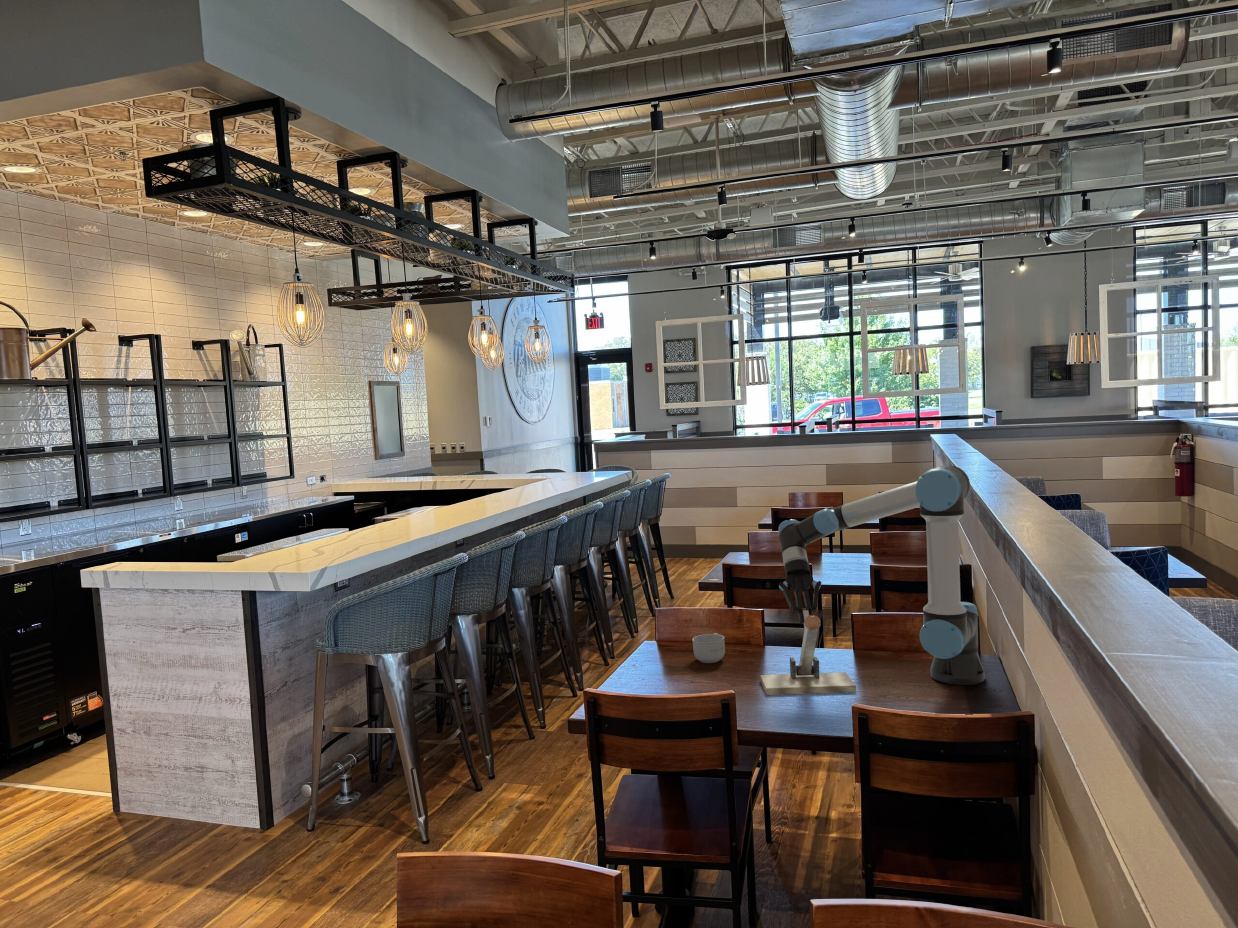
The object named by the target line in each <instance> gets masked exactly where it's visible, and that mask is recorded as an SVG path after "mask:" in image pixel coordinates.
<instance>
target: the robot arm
mask: <svg viewBox="0 0 1238 928" xmlns="http://www.w3.org/2000/svg"><path fill="white" fill-rule="evenodd" d="M970 488H971V482H970V478H969V476H968V474H967V473H966V472H965V471H964V470H963V469H962V468H961V467H958V466H956V465H951V464H950V465H949V464H946V465H942V466H938V467H932V468H930V469H928V470H926V471H925V472H924V473H922V474H921V476H919V477H918V480H916V481H913V482H910V483H906V484H905V485H901V486H898V487H895V488H892V489H891V488H890V489H889V490H885V491H883V492H882V491H881V492H879V493H876V494H873V495H869V496H867V497H864V498H860V499H858V500H853V501H851V502H848V503H846V504H845V503H844V504H842V505H839V506H838V505H837V506H836V507H831V508H824V509H821V510H819V511H816V512H815V513H813V514H812V515H810V516H808V517H806V518H804V519H803V520H801V521H798V520H797V519H792V518H791V519H789V520H786V519H785V520H784V521H782V522H781V523H780V524H779V526H778V529H777V531H778V540H779V543H780V548H781V555H782V560H783V566H784V572H785V580H784V581H780V582H779V585H778V589H779V591H781V593H783V596H784V598H785V600H786V602H787V605H788V607H789V609H790V611H791V613H792V614H795V613H796V614H797V616H798V621H799V623H800V624H803V627H804V628H803V629H804V630H805V619H806V617H808V616H809V615H813V613H817V610H818V604H819V591H820V589H821V586H822V581H821V580H818V581H816V580H814V577H813V576H812V574H811V573H812V572H811V568H810V564H809V559H808V553H807V548H806V546H807V545H810V544H811V543H813V542H816V541H818V540H820V539H822V538H824V537H826V536H829V535H831V534H833V533H834V534H835V533H837V532H839V531H843V530H847V529H849V528H852V527H857V526H859V525H862V524H863V525H864V524H866V523H869V522H873V521H876V520H879V519H883V518H885V517H889V516H893V515H896V514H899V513H903V512H905V511H909V510H913V509H916V508H919V511H920V512H919V514H920V516H921V517H922V518H923V519H924V520H925V524H926V525H925V529H926V530H925V531H926V532H925V533H926V560H927V561H926V564H927V599H928V600H927V601H928V602H927V604H925V605H924V606H922V607H923V608H922V616H923V618H922V619H923V621H922V623H923V625H921V628H920V630H919V641H920V644H921V646H922V648H923V649H924V650H925V651H926V652H927V653H928V654H929V655H931V656H933V659H932V662H931V665H930V671H929V672H930V677H931V678H932V679H933V680H934V681H937V682H940V683H944V684H949V685H954V686H955V685H957V686H970V685H971V686H973V685H978V684H981V683H983V682H984V681H985V677H986V675H985V674H986V673H985V669H984V667H983V663H982V662H981V661H982V660H981V659H980V656H979V648H978V647H979V645H978V644H979V640H978V636H979V635H978V616H979V613H978V608H977V606H976V604H974V603H971V602H968V601H961V578H960V576H961V574H960V538H959V537H960V536H959V534H960V533H959V530H960V529H959V520H961V518H963V516H964V515H965V505H964V504H965V503H964V500H965V499H966V497H967V496H968V494H969V492H970ZM811 586H812V588H813V589H814V590H813V597H812V598H813V599H812V603H811V599H810V598H811V597H810V591H809V589H810V588H811ZM788 587H789V588H790V590H792V591H793V595H794V598H795V601H794V598H793V597H792V594H791V592H790V590H789V588H788ZM801 594H802V596H803V601H804V606H805V610H804V608H803V602H802V597H801Z"/></svg>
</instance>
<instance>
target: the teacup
mask: <svg viewBox="0 0 1238 928" xmlns="http://www.w3.org/2000/svg"><path fill="white" fill-rule="evenodd" d="M691 641H692V647H693V654H694V657H695V659H697V660H698V661H700V663H703V664H715V663H718V662H720V661H721V659H722V658H724V656H725V653H726V644H725V636H724V635H722V634H719V633H717V632H714V633H705V634H700V635H696V636H693V638H692V640H691Z"/></svg>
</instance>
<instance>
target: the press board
mask: <svg viewBox="0 0 1238 928" xmlns="http://www.w3.org/2000/svg"><path fill="white" fill-rule="evenodd" d="M796 663H797V662H796V660H795V658H794V657H793V656H792V657H791V656H790V657H789V671H790V672H789V673H783V674H780V673H779V674H760V677H759V678H760V684H761V686H762V688H763V690H764V692H765V694H766V695H765V696H773V695H774V696H775V695H778V696H779V695H782V696H783V695H805V694H807V695H808V694H810V695H812V694H839V693H857V686H856V684H855V682H854V681H853V680H852V678H851V677H850V676H849V675H848V674H847V672H845V671H844V672H842V671H841V672H820V660H819V658H818V657H817V656H814V657H813V663H812V665H813V667H814V675H805V676H796V666H797V665H796Z"/></svg>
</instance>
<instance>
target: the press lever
mask: <svg viewBox="0 0 1238 928" xmlns="http://www.w3.org/2000/svg"><path fill="white" fill-rule="evenodd" d="M820 627H821V619H820V618H819V616H817V615H815V614H812V615H809V616H808V617H806V619H805V629H804V630H803V637H802V644H801V650H800V651H801V652H800V656H799V662H798V665H796V676H805V675H814V667H813V657H815V656H814V655H815V650H816V644H817V639H818V633H819V629H820Z"/></svg>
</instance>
